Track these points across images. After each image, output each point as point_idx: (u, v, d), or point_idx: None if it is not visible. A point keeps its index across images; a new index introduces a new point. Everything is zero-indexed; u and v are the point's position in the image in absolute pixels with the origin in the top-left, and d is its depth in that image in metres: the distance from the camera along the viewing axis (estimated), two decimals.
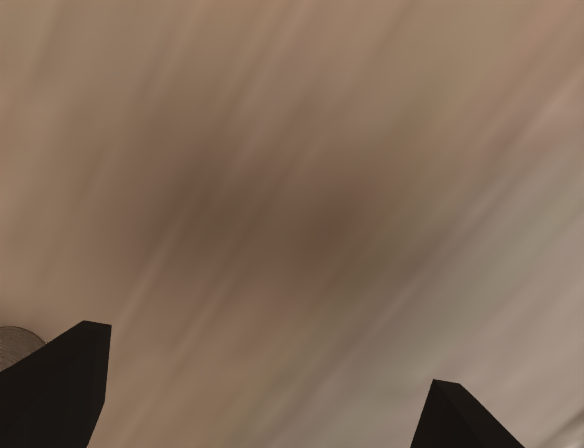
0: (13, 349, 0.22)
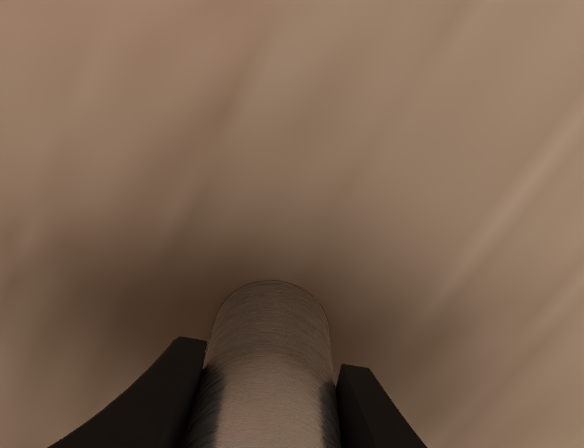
0: (302, 316, 0.13)
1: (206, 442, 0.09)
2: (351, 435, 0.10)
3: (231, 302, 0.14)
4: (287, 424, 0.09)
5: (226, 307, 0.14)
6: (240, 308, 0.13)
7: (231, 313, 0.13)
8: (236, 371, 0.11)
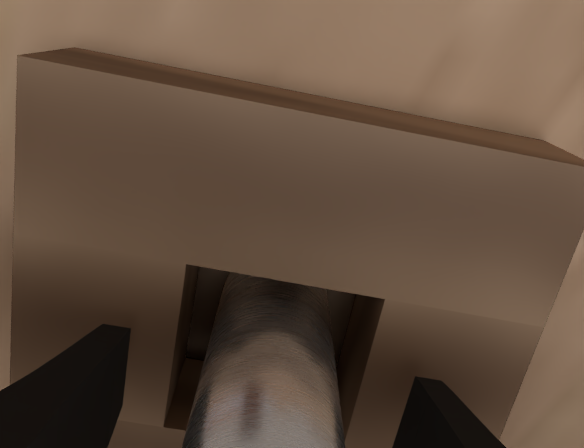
0: None
1: (225, 375, 0.10)
2: None
3: None
4: (296, 365, 0.11)
5: None
6: None
7: (242, 276, 0.14)
8: (249, 321, 0.12)
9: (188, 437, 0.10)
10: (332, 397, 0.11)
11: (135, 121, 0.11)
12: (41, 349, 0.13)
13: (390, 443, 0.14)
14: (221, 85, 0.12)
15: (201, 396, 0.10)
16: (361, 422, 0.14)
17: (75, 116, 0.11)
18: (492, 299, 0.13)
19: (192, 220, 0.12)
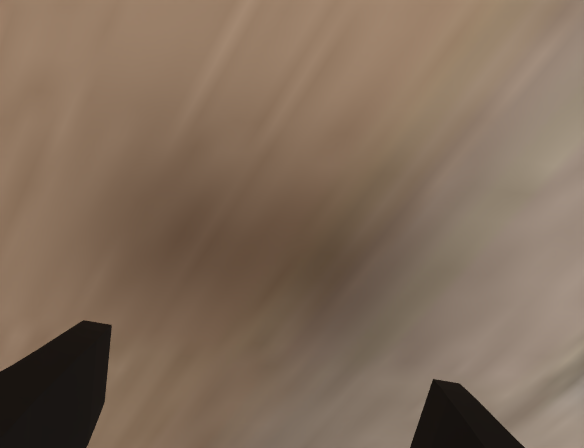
0: None
1: None
2: None
3: None
4: None
5: None
6: None
7: None
8: None
9: None
10: None
11: None
12: None
13: None
14: None
15: None
16: None
17: None
18: None
19: None
